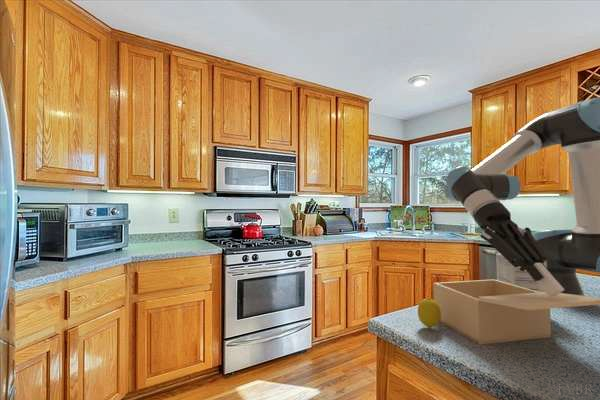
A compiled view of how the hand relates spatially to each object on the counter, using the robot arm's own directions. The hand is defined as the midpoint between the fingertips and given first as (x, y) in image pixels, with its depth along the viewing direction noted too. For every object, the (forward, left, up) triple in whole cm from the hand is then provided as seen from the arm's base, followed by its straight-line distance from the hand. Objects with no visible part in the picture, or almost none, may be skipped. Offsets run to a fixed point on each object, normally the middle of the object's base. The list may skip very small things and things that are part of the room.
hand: (556, 293), depth 59 cm
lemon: (+16, -20, -14) cm, 29 cm away
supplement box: (-20, -25, -14) cm, 35 cm away
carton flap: (0, -9, -4) cm, 10 cm away
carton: (0, -17, -14) cm, 22 cm away
